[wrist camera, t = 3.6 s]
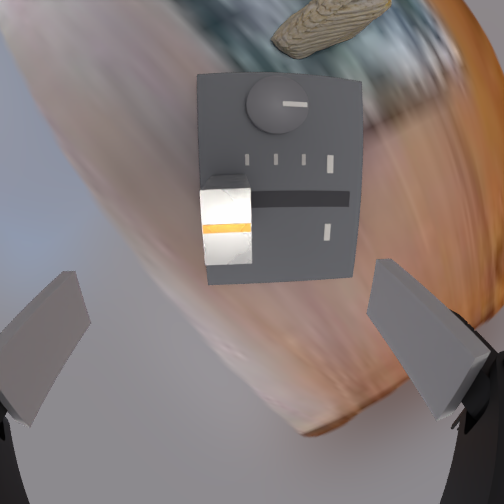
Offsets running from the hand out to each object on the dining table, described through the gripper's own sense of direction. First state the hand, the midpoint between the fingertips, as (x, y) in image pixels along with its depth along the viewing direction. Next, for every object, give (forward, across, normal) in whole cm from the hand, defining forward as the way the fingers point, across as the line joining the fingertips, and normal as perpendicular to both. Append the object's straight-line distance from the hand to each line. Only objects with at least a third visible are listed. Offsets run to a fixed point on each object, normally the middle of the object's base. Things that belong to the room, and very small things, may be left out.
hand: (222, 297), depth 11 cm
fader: (+19, 0, 0) cm, 19 cm away
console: (+22, +6, +2) cm, 23 cm away
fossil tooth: (+22, +12, +22) cm, 34 cm away
